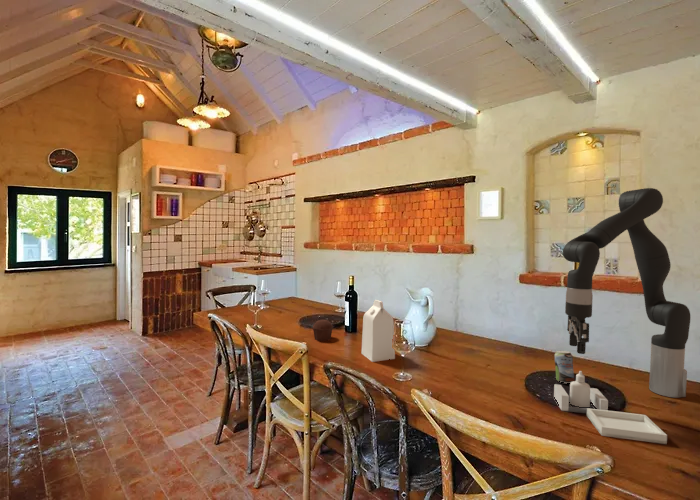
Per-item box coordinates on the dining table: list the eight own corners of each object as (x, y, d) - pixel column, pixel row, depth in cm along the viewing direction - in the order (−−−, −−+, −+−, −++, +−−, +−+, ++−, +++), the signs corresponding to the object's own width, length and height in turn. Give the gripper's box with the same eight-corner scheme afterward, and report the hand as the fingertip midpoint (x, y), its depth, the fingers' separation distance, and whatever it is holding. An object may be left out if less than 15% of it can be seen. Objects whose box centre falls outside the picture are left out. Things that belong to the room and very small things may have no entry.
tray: (644, 422, 111) (645, 414, 111) (666, 444, 100) (667, 435, 99) (586, 415, 115) (587, 408, 115) (601, 435, 104) (601, 426, 104)
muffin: (310, 336, 201) (310, 318, 200) (330, 334, 204) (330, 317, 204) (315, 342, 189) (315, 323, 189) (335, 340, 193) (335, 322, 192)
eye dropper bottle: (572, 401, 124) (573, 367, 124) (591, 407, 120) (592, 372, 120) (567, 405, 122) (568, 370, 121) (586, 412, 117) (588, 375, 117)
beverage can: (565, 386, 136) (566, 355, 136) (549, 379, 144) (550, 349, 143) (578, 385, 138) (579, 353, 138) (562, 377, 145) (563, 347, 145)
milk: (395, 358, 166) (395, 302, 165) (372, 361, 162) (372, 304, 160) (383, 350, 177) (383, 297, 176) (361, 353, 173) (361, 299, 172)
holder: (596, 403, 123) (597, 388, 123) (607, 415, 115) (608, 400, 115) (553, 398, 127) (554, 384, 127) (561, 410, 118) (561, 395, 118)
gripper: (599, 306, 113) (597, 357, 114) (584, 298, 127) (582, 344, 127) (572, 304, 115) (570, 355, 116) (560, 297, 129) (558, 342, 130)
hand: (576, 349), depth 122 cm, fingers open, 8 cm apart
